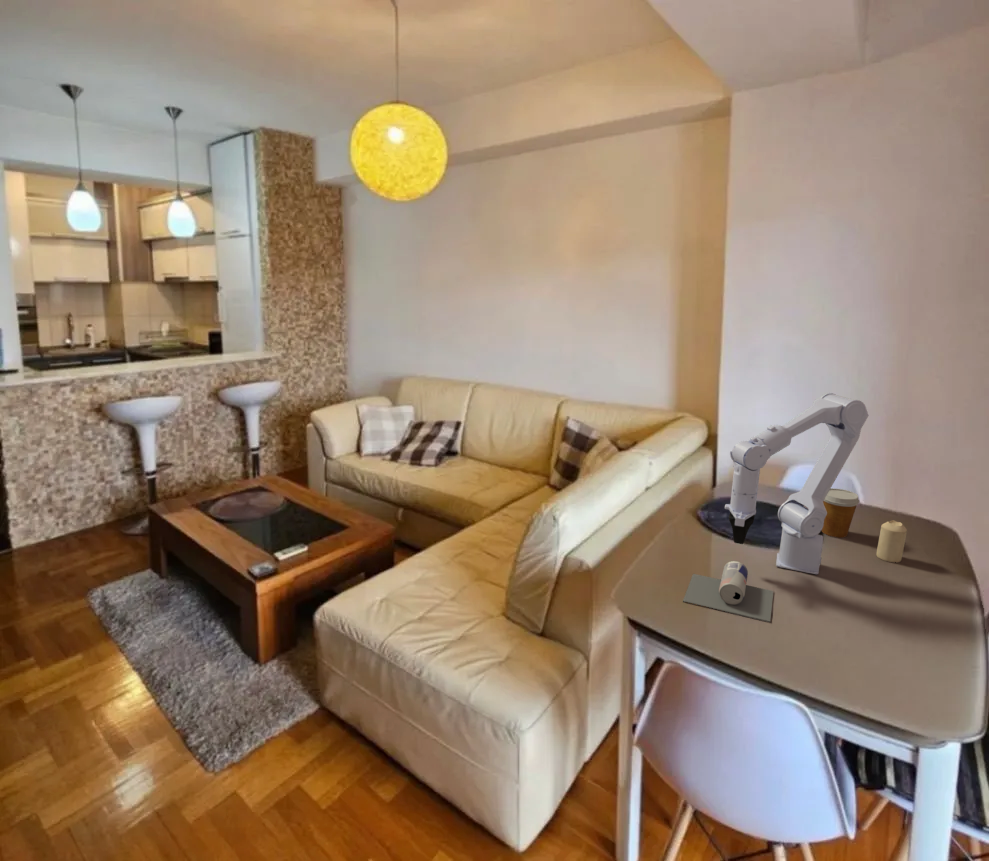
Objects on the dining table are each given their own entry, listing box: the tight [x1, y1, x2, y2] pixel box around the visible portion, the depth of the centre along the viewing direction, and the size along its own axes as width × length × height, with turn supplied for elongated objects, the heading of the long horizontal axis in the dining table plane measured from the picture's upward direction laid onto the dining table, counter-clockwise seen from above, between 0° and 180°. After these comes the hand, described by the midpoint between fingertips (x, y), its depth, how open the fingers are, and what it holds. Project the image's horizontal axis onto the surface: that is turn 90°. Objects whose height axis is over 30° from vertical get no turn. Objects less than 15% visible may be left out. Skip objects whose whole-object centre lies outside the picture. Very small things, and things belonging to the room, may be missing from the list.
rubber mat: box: [682, 573, 774, 623], centre depth 135 cm, size 18×14×1 cm
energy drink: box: [719, 560, 749, 605], centre depth 136 cm, size 5×5×12 cm
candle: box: [876, 519, 908, 563], centre depth 153 cm, size 6×6×10 cm
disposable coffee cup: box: [821, 487, 860, 538], centre depth 167 cm, size 10×10×12 cm
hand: (738, 542), depth 146 cm, fingers closed
